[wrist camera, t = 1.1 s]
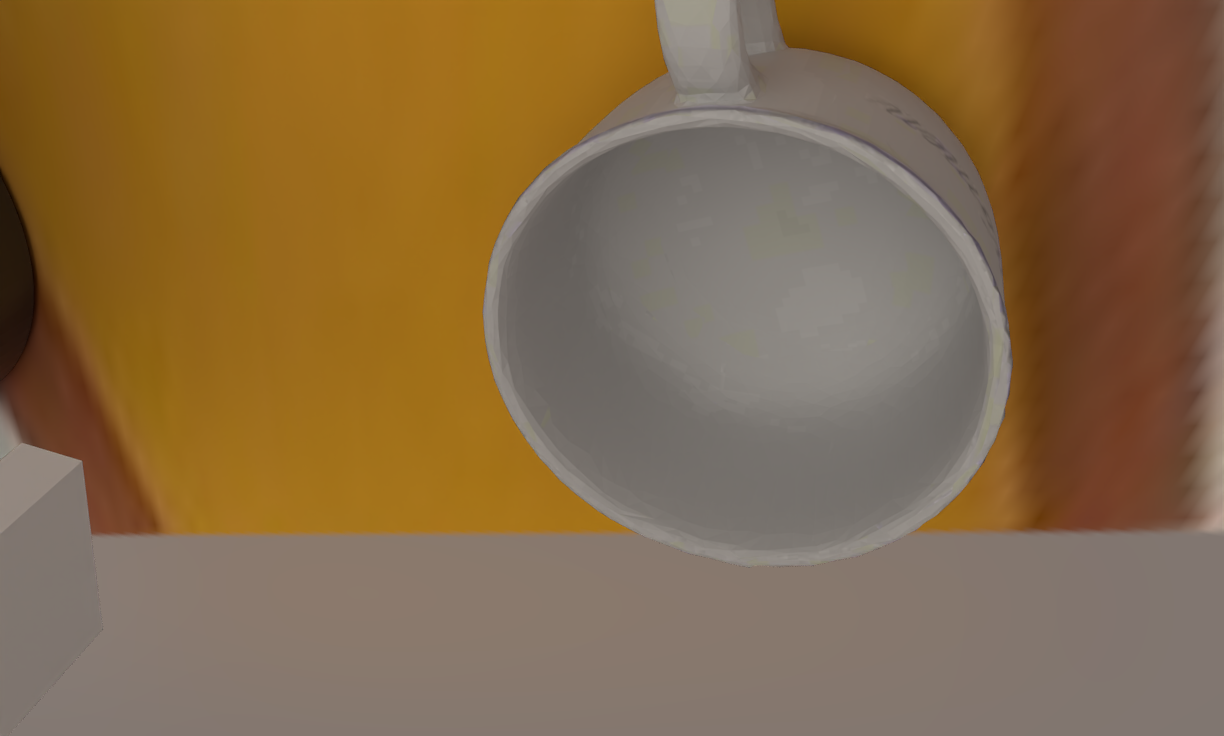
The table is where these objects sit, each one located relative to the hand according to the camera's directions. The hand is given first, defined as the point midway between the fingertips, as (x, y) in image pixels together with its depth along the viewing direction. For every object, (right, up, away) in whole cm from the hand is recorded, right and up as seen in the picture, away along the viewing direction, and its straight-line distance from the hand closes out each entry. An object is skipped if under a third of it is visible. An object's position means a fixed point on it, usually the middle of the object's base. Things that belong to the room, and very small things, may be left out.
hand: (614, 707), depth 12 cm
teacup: (+4, +9, +16) cm, 19 cm away
